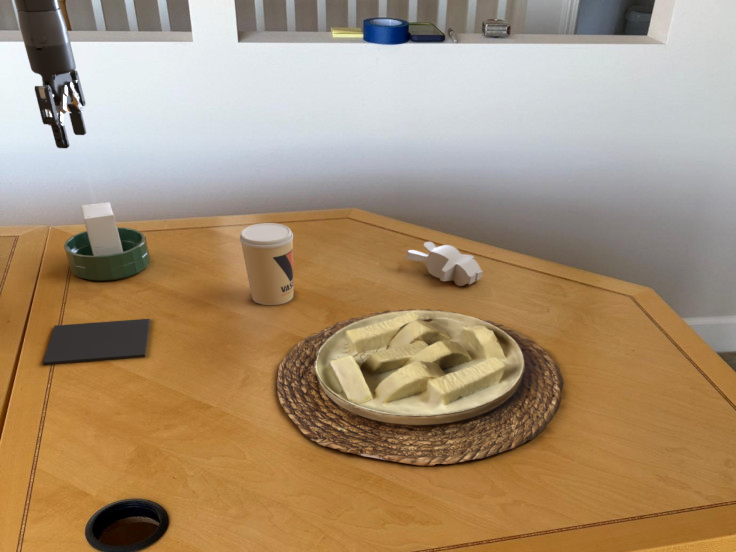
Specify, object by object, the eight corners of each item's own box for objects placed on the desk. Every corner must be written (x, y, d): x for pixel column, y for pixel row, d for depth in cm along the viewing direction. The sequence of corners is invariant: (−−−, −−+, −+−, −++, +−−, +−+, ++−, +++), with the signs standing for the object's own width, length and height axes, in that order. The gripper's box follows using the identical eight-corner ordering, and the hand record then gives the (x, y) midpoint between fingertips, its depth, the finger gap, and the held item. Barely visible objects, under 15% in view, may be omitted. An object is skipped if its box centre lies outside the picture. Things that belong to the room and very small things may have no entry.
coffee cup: (290, 309, 140) (284, 243, 132) (241, 305, 141) (232, 239, 133) (303, 287, 147) (298, 223, 139) (256, 284, 148) (248, 220, 140)
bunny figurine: (463, 273, 143) (402, 243, 149) (459, 298, 146) (399, 268, 153) (493, 258, 148) (433, 229, 154) (488, 282, 152) (430, 254, 158)
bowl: (66, 285, 147) (58, 259, 144) (76, 253, 158) (69, 229, 155) (148, 279, 149) (142, 254, 146) (152, 249, 161) (147, 224, 157)
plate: (576, 333, 134) (582, 296, 129) (539, 495, 102) (546, 455, 98) (331, 301, 143) (329, 266, 138) (228, 441, 111) (220, 402, 107)
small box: (127, 269, 152) (114, 214, 145) (97, 273, 150) (83, 218, 143) (122, 254, 157) (110, 201, 150) (94, 258, 156) (79, 204, 149)
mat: (43, 365, 125) (42, 362, 124) (55, 328, 134) (54, 325, 134) (145, 357, 127) (144, 354, 127) (149, 321, 137) (149, 318, 136)
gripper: (42, 32, 139) (67, 130, 150) (7, 47, 129) (37, 151, 140) (82, 33, 139) (105, 131, 150) (51, 48, 128) (77, 153, 139)
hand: (72, 141), depth 145 cm, fingers open, 8 cm apart
